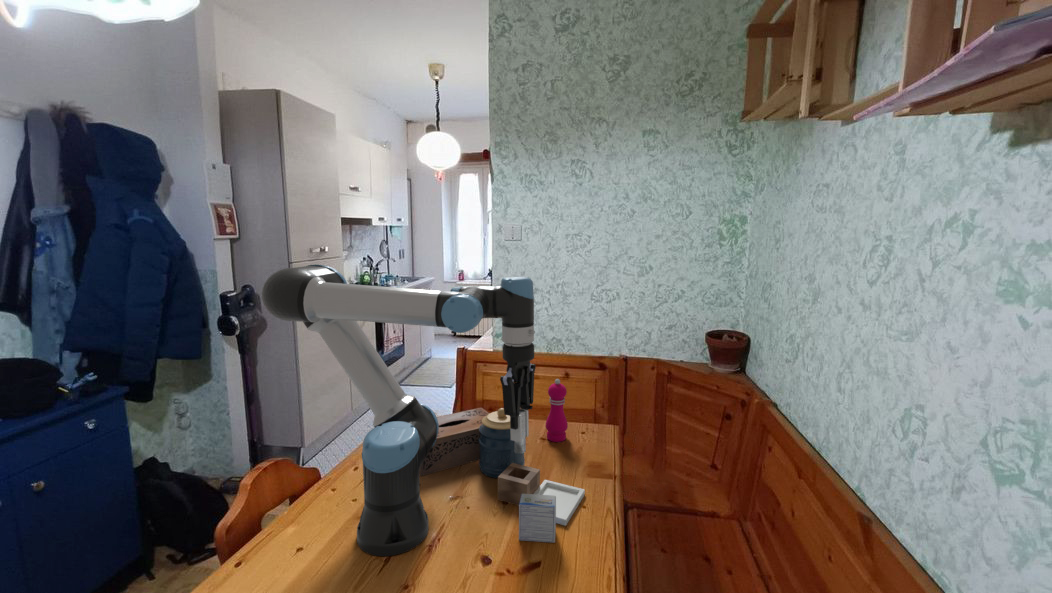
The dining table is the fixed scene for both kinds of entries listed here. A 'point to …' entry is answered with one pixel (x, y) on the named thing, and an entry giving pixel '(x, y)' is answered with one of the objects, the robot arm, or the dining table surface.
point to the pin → (521, 446)
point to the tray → (562, 499)
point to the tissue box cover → (455, 441)
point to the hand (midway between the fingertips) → (519, 437)
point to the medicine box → (537, 518)
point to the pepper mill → (556, 413)
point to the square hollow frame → (517, 482)
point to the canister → (497, 445)
